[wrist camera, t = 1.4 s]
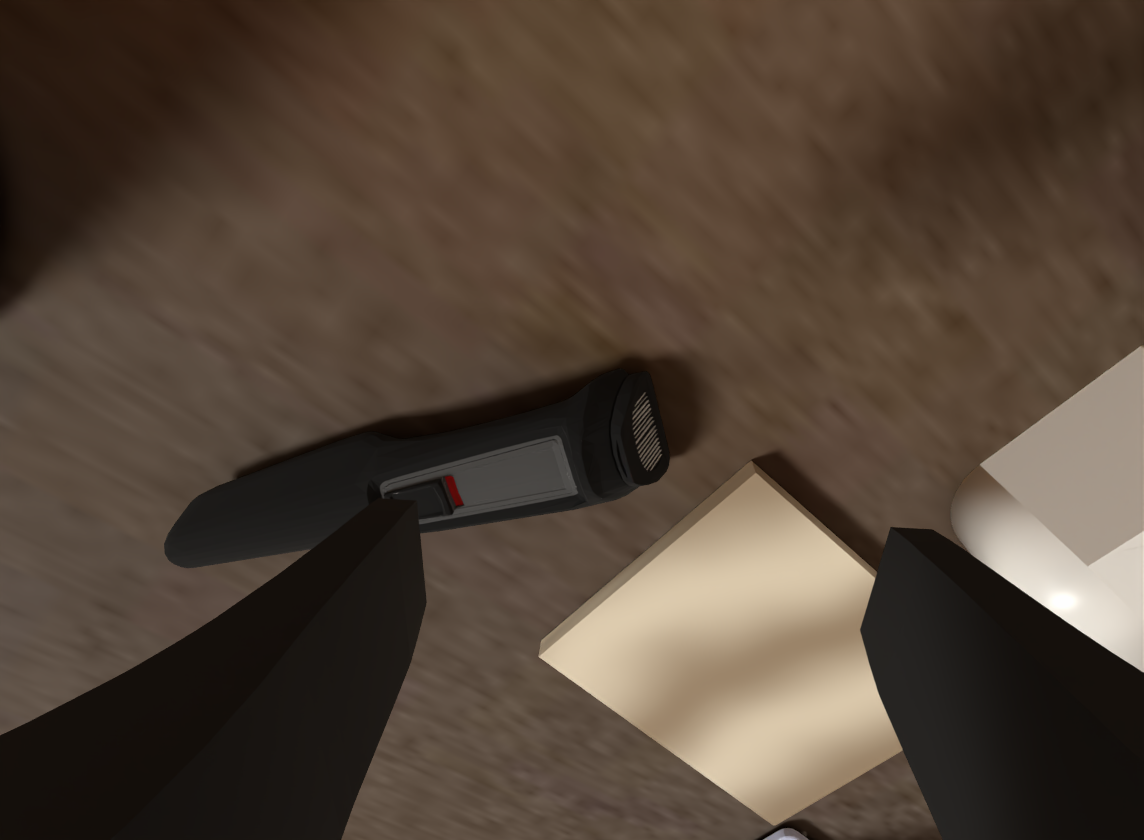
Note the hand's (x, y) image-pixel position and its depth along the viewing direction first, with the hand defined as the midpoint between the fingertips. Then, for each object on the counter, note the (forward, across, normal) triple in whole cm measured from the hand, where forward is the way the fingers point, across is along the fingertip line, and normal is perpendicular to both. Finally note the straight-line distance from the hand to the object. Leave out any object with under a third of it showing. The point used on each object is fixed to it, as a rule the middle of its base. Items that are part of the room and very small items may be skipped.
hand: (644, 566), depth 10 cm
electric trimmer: (+10, +6, +4) cm, 13 cm away
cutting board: (+9, -5, +11) cm, 15 cm away
